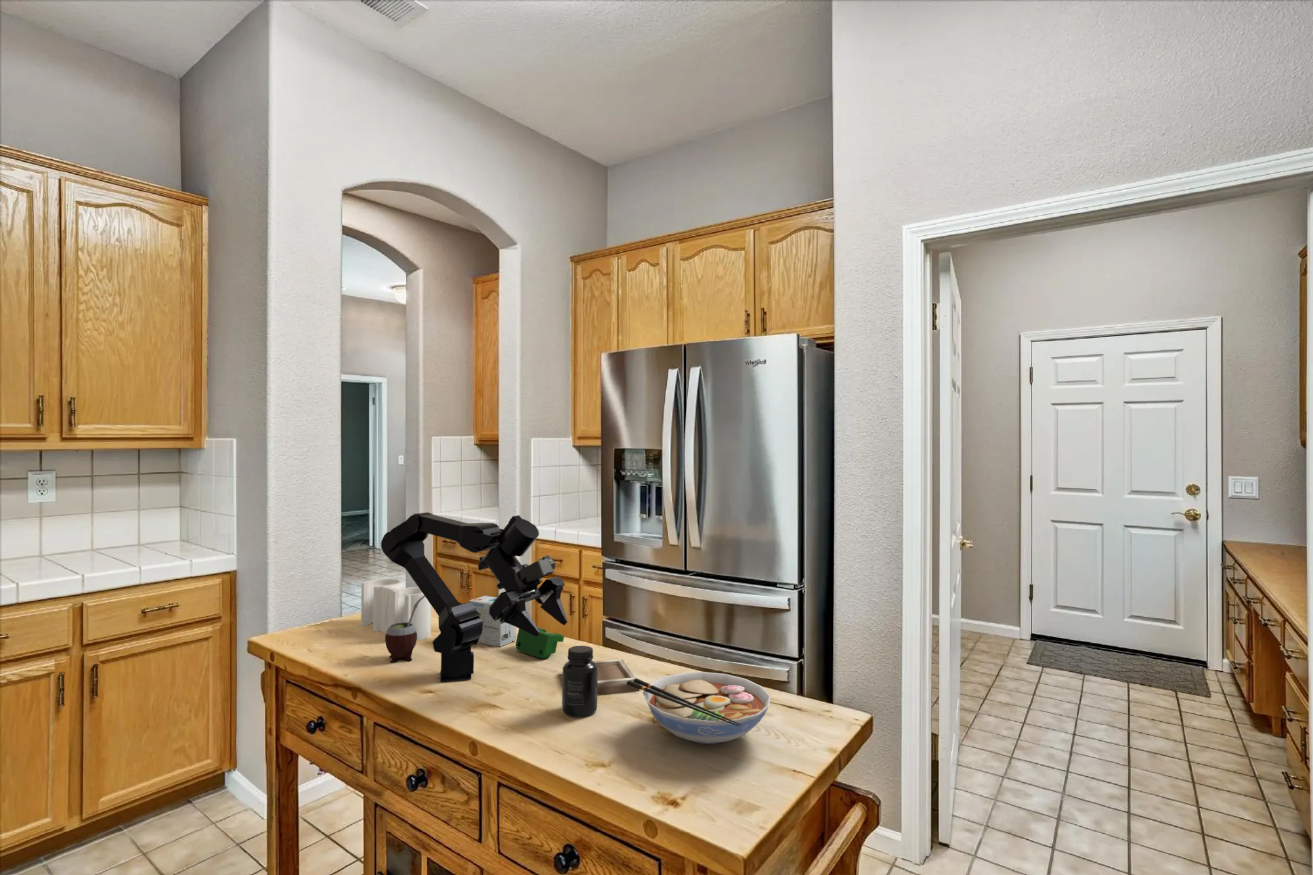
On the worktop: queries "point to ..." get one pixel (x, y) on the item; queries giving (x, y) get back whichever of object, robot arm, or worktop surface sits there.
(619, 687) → the beige square tray
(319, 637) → the worktop surface
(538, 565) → the robot arm
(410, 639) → the mate gourd
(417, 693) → the worktop surface
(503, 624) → the light bulb box
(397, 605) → the white piece
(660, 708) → the ramen bowl
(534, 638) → the clamp
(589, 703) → the supplement bottle
